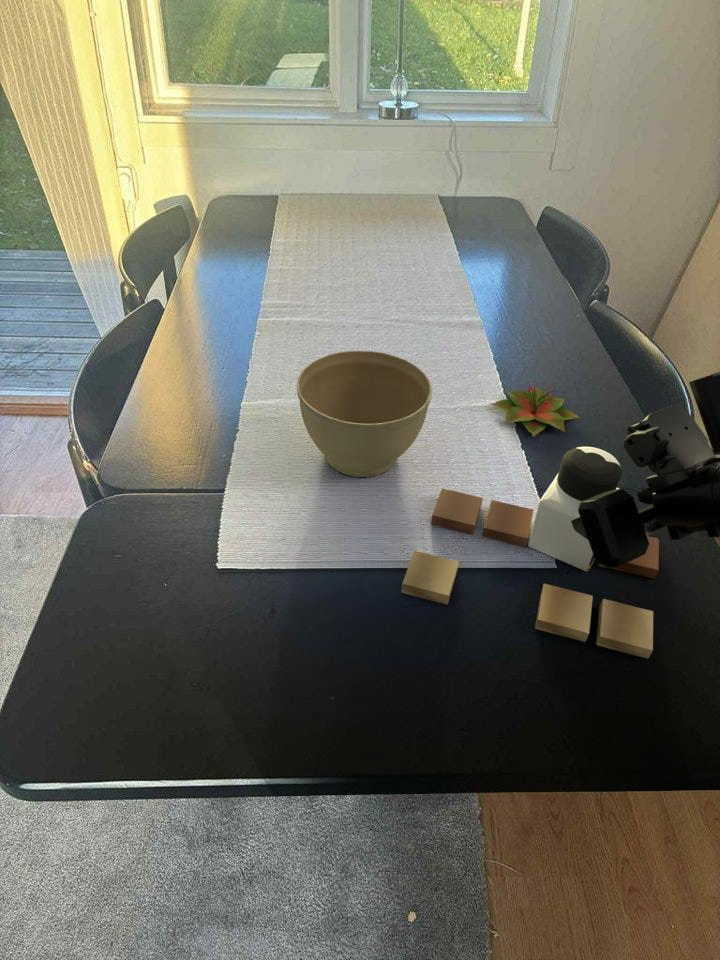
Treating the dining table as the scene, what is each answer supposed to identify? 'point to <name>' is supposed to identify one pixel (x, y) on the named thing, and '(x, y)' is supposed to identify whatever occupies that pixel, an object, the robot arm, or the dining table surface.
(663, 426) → the robot arm
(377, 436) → the planter bowl
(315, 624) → the dining table surface
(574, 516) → the medicine bottle
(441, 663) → the dining table surface
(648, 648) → the set of tan blocks
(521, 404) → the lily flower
